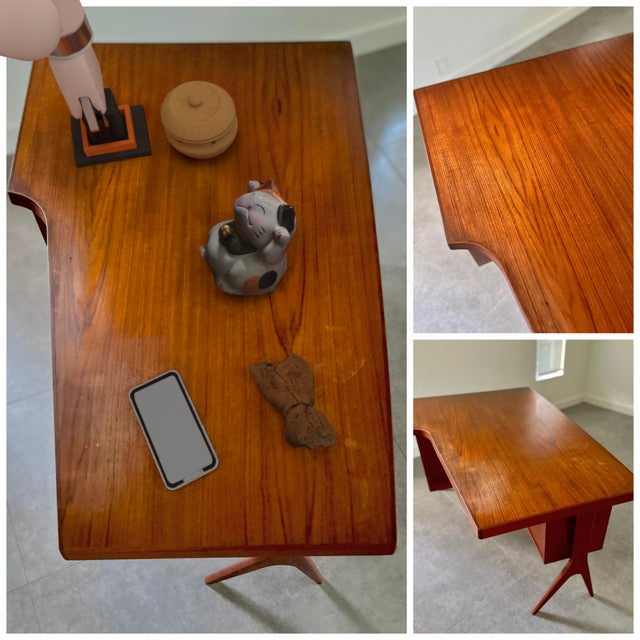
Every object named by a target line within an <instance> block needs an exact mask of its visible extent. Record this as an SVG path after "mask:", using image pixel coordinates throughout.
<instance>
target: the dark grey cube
mask: <svg viewBox="0 0 640 640" xmlns="http://www.w3.org/2000/svg"><path fill="white" fill-rule="evenodd" d="M104 94H105V101H106V112H105V114H106V116H107V119H108V121H111V123H112V125H113V127H114V130H115V132H116V134H117V136H118V139H125V135H124V129H123V123H122V116H121V113H120V110H119V108H118V106H119V105H118V103H117V99H116V97H115V95H114V93H113V91H112V88H111V87H104ZM96 117H97V120H101V119H102V117H101V114H100V113H97V114H96ZM81 119H82V121H83V123H84V125H85V127H86V129H87V131H88V133H89V135H90V137H91V139H92V141H93V143H98V142H97V140H96V138H95V136H94V134H93V132H91V130H90V127H89V124H88V122H87V119H86V117H85V115H84V112H83V110H82V118H81Z"/></svg>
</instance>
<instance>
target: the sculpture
mask: <svg viewBox="0 0 640 640" xmlns="http://www.w3.org/2000/svg"><path fill="white" fill-rule="evenodd" d="M248 370H249V373H250V375H251V376H252V377H253V378H254V381H255V383H256V387H258V389H259V390H260V391H261V392H262V393H263V396H264V397H265V399H266V400H267V401H268V403H269V404H270V405H271V406H272V407H273V408H274V409H275V410H277V411H278V412H279V413H280V414H281V415H282V417H283V419H284V420H285V422H284V423H285V436H284V439H285V442H286V443H287V444H288V445H289V447H291V448H295V449H296V448H297V449H302V448H305V449H307V450H309V451H313V450H317V449H320V448H330V447H333V446H335V445H336V443H337V441H338V436H337V433H336V431H335V430H334V427H333V425H332V424H331V423H330V422H329V420H328V418H327V417H326V415H324V413H323V412H321V411H320V410H318V409H317V408H315V407H314V405H315V395H314V374H313V372H312V370H311V367H310V365H309V364H308V362H307V361H306V359H305V358H304V357H302V356H301V355H298V354H297V353H292V354H291V355H289V356H288V357H286V358H285V359H283V360H280V361H278V363H275V366H274V364H272V363H271V362H270V361H269V360H267V359H265V360H261V361H260V362H259V363H256V364H253V363H251V364H249V366H248Z"/></svg>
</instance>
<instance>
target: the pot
mask: <svg viewBox="0 0 640 640" xmlns="http://www.w3.org/2000/svg"><path fill="white" fill-rule="evenodd" d="M160 119H161V123H162V126H163V129H164V134H165V137H166V139H167V141H168V143H170V145H171V146H172V147H173V149H175V150H177V151H178V152H179V153H181V154H182V155H184V156H187V157H190V158H192V159H198V160H208V159H211V158H215V157H218V156H219V155H221V154H223V153H224V152H226V151H227V150H228V149H229V147H230V146H232V145H233V142H234V140H235V138H236V137H237V133H238V129H239V121H238V117H237V110H236V106H235V103H234V99H233V98H232V97H231V95H230V94H229V93H228V92H227V91H226V90H225V89H224V88H222V87H221V86H219V85H217V84H215V83H212V82H210V81H204V80H191V81H187V82H183V83H180V84H179V85H177V86H175V87H174V88H173V89H171V91H169V92H168V93H167V95H166V96H165V97H164V99H163V101H162V103H161V107H160Z"/></svg>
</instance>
